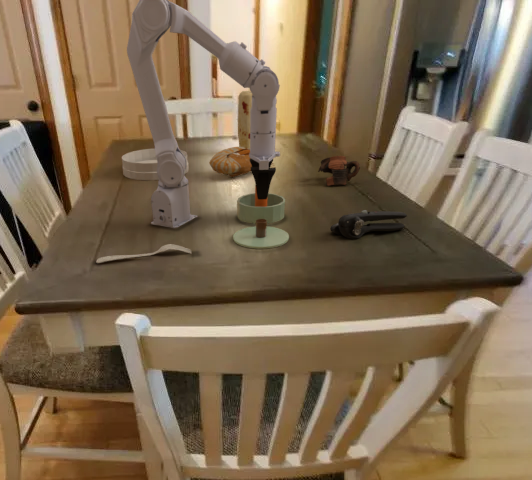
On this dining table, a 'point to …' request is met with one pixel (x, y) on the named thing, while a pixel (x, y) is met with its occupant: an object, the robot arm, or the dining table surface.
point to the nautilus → (232, 161)
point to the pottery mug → (338, 169)
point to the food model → (244, 118)
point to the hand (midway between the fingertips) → (261, 194)
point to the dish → (143, 164)
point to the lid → (261, 236)
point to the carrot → (259, 201)
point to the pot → (261, 208)
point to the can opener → (355, 226)
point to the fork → (163, 248)
